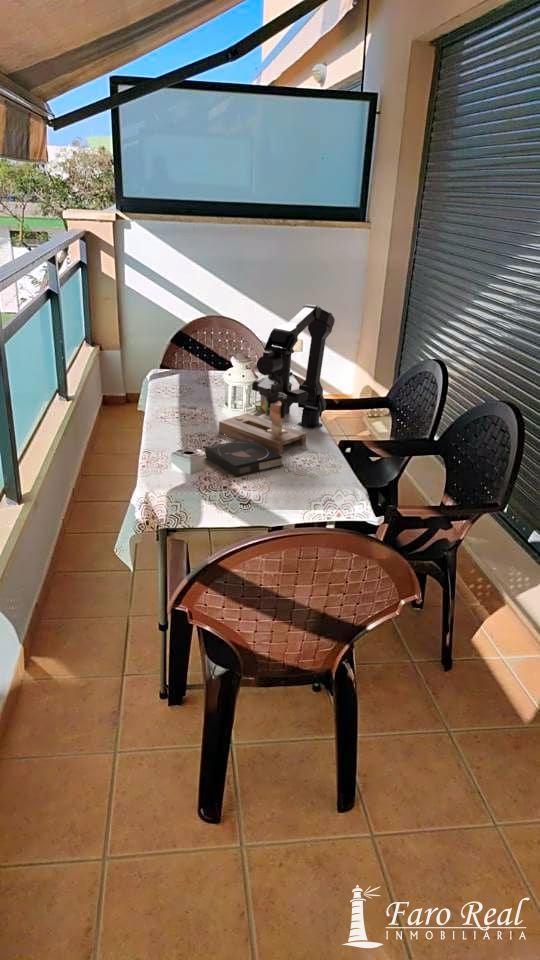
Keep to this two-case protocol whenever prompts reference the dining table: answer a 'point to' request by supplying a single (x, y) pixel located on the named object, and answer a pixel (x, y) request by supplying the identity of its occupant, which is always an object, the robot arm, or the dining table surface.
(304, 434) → the keyhole plate
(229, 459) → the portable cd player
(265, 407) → the chalk box
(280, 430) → the copper peg
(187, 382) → the dining table surface
